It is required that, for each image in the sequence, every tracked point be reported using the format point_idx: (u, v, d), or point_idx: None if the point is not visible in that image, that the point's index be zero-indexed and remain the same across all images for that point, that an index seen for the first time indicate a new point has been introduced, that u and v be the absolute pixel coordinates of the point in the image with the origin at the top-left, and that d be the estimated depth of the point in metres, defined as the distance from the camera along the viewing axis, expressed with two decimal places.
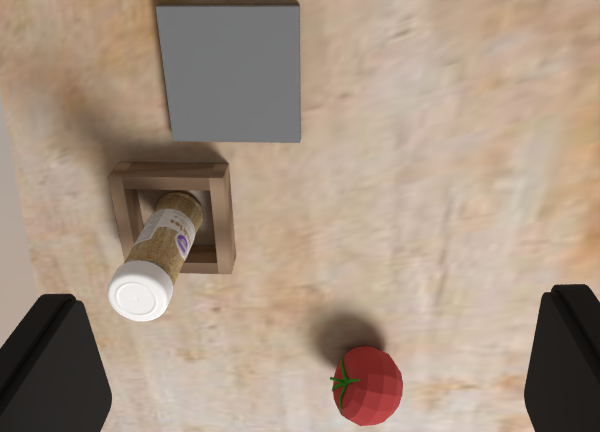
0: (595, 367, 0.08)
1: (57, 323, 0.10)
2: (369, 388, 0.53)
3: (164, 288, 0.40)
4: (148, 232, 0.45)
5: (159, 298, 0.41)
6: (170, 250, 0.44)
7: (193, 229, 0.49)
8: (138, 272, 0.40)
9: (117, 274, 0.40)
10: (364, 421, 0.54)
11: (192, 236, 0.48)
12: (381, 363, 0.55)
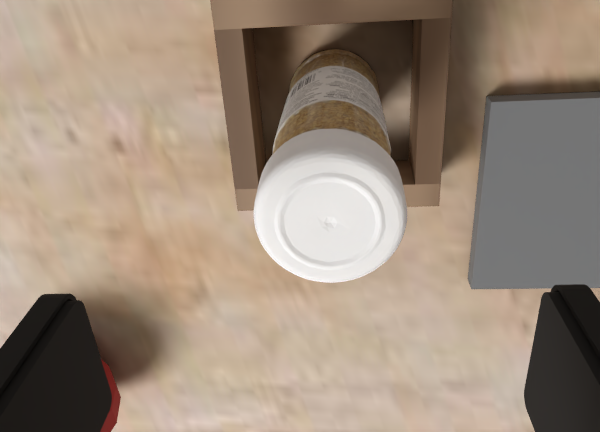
0: (595, 367, 0.08)
1: (57, 323, 0.10)
2: None
3: (356, 276, 0.17)
4: (385, 128, 0.21)
5: (335, 272, 0.17)
6: None
7: None
8: None
9: (395, 175, 0.16)
10: None
11: None
12: (111, 429, 0.34)
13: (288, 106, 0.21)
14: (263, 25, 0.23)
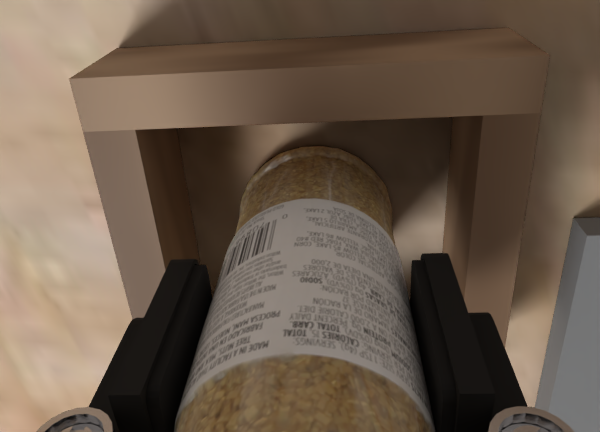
0: (432, 320, 0.10)
1: (193, 284, 0.11)
2: None
3: None
4: (422, 372, 0.10)
5: None
6: None
7: None
8: None
9: None
10: None
11: None
12: None
13: (215, 313, 0.10)
14: (175, 124, 0.12)
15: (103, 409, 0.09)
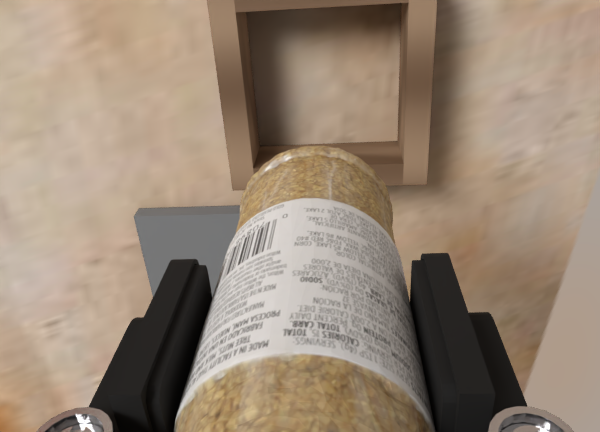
0: (432, 320, 0.10)
1: (193, 283, 0.11)
2: None
3: None
4: (422, 372, 0.10)
5: None
6: None
7: None
8: None
9: None
10: None
11: None
12: None
13: (215, 312, 0.10)
14: (410, 25, 0.24)
15: (103, 409, 0.09)
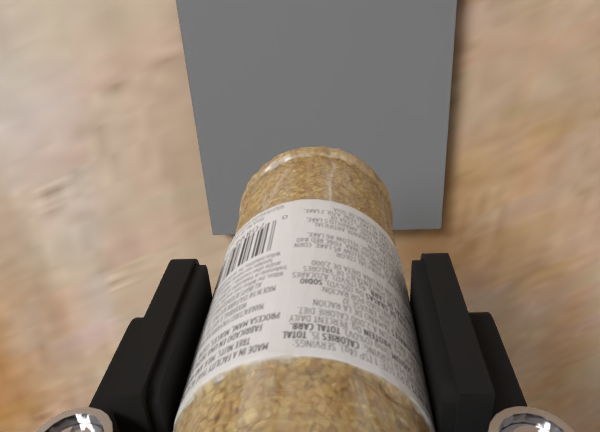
0: (432, 320, 0.10)
1: (193, 284, 0.11)
2: None
3: None
4: (423, 374, 0.10)
5: None
6: None
7: None
8: None
9: None
10: None
11: None
12: None
13: (214, 314, 0.10)
14: None
15: (103, 409, 0.09)
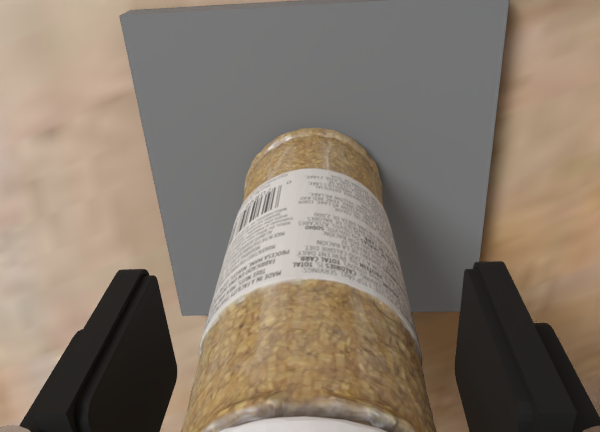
0: (496, 333, 0.09)
1: (138, 295, 0.11)
2: None
3: None
4: (409, 306, 0.11)
5: None
6: None
7: None
8: None
9: None
10: None
11: None
12: None
13: (231, 259, 0.12)
14: None
15: (35, 426, 0.09)
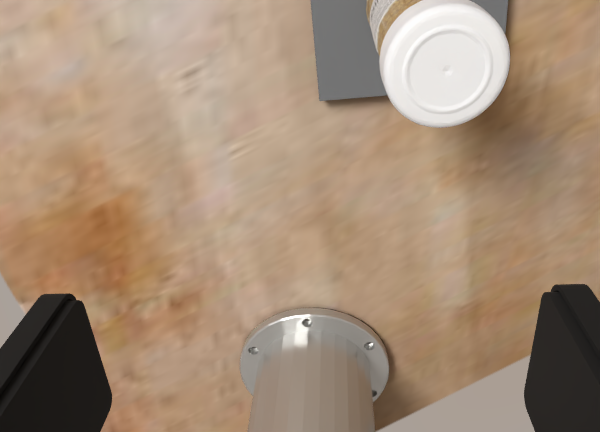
0: (595, 367, 0.08)
1: (57, 323, 0.10)
2: None
3: (463, 122, 0.21)
4: None
5: (448, 117, 0.21)
6: None
7: None
8: (507, 74, 0.20)
9: (501, 28, 0.19)
10: None
11: None
12: None
13: (384, 0, 0.25)
14: None
15: None
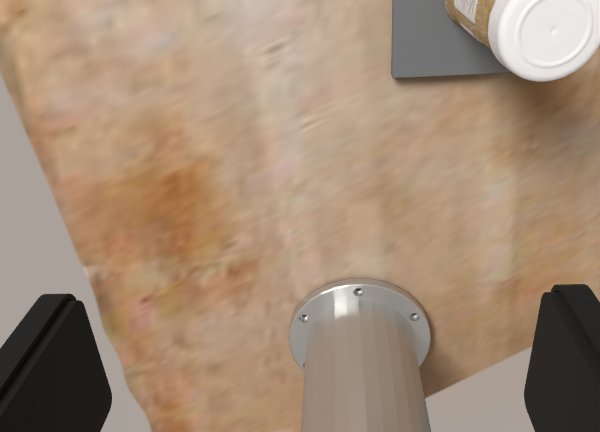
0: (595, 367, 0.08)
1: (57, 323, 0.10)
2: None
3: (561, 77, 0.24)
4: None
5: (550, 71, 0.24)
6: None
7: None
8: None
9: None
10: None
11: None
12: None
13: None
14: None
15: None
